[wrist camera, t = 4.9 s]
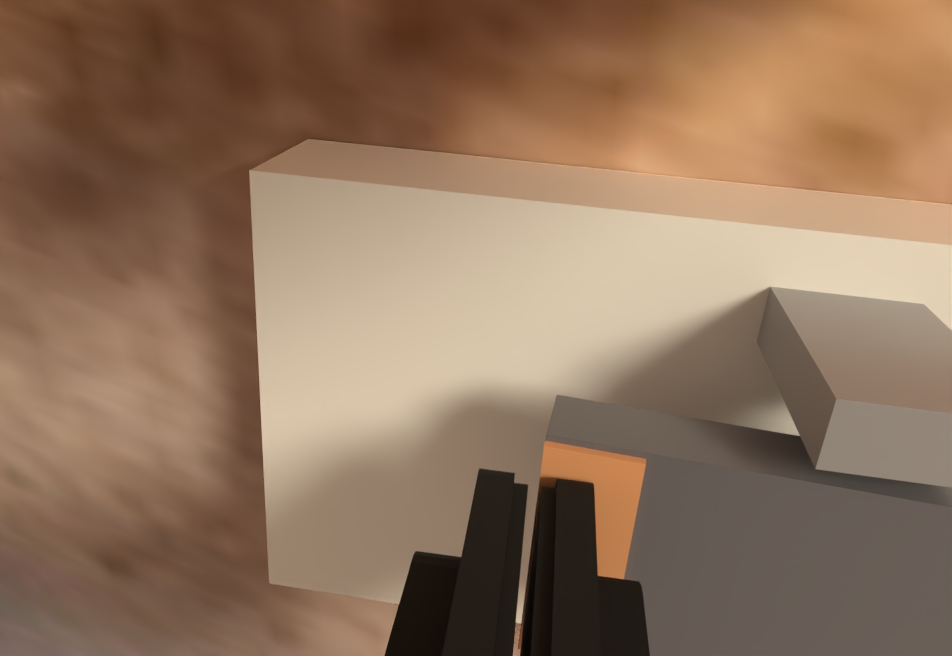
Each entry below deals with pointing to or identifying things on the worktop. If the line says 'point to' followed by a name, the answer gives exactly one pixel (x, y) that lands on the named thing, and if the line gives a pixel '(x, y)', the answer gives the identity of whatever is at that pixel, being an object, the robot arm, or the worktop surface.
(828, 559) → the breaker paddle
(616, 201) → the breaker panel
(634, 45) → the worktop surface
